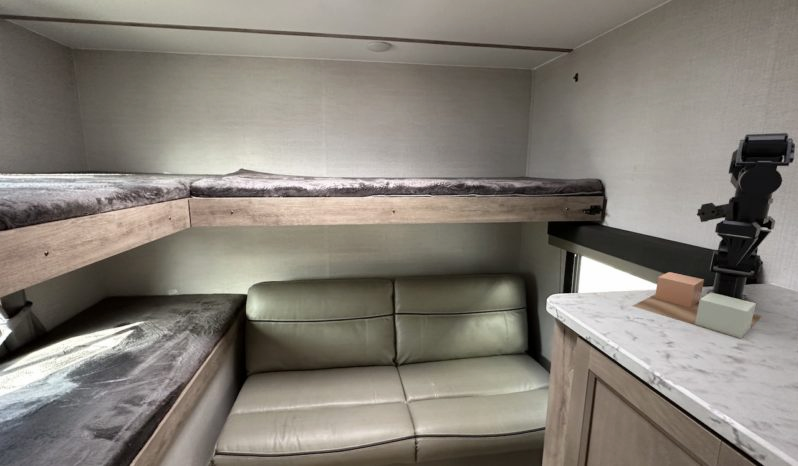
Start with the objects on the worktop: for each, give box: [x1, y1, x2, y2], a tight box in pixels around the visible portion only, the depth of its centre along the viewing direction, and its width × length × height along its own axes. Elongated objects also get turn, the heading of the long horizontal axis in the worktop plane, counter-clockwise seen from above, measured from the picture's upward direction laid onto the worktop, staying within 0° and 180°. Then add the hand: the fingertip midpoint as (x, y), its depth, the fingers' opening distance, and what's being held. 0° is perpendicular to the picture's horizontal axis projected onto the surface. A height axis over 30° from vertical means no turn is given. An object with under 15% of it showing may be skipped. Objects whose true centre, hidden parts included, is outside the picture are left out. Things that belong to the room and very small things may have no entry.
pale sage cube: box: [695, 292, 757, 339], centre depth 70 cm, size 7×7×6 cm
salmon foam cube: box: [654, 271, 705, 308], centre depth 84 cm, size 7×7×6 cm
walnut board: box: [632, 293, 763, 340], centre depth 78 cm, size 18×18×1 cm
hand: (738, 262), depth 78 cm, fingers open, 9 cm apart
